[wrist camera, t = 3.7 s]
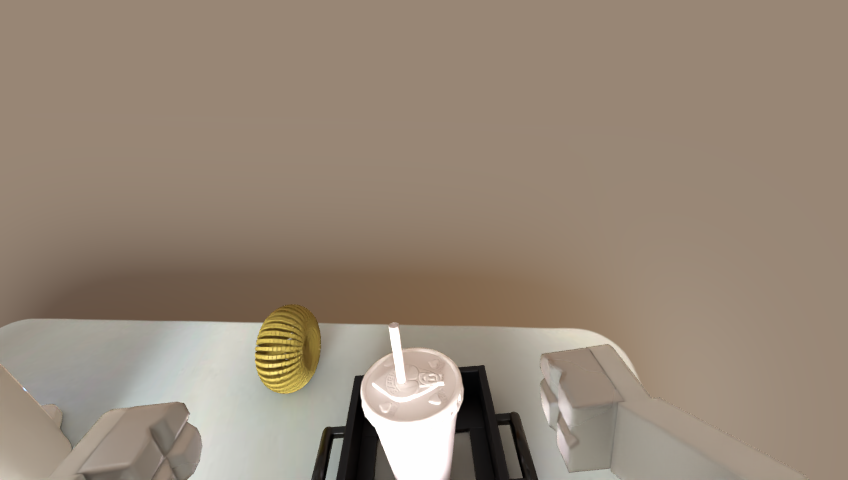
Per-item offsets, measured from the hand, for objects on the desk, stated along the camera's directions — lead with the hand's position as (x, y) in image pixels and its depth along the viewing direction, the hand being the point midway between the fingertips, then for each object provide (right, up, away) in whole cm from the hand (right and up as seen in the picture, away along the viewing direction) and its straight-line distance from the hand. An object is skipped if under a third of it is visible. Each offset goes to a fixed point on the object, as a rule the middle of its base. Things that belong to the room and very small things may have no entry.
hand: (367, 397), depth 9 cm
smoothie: (+1, -14, +20) cm, 24 cm away
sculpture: (-11, -10, +30) cm, 33 cm away
